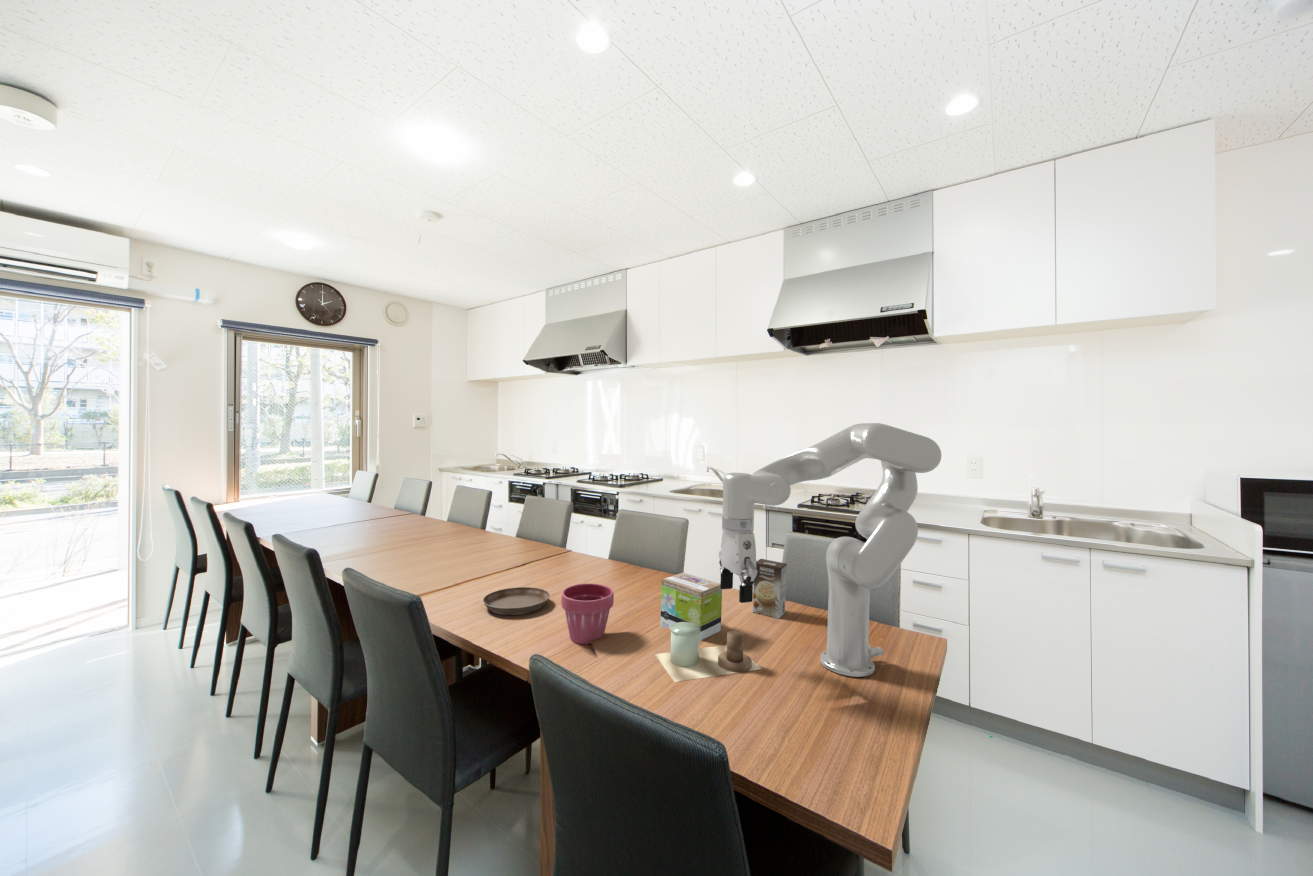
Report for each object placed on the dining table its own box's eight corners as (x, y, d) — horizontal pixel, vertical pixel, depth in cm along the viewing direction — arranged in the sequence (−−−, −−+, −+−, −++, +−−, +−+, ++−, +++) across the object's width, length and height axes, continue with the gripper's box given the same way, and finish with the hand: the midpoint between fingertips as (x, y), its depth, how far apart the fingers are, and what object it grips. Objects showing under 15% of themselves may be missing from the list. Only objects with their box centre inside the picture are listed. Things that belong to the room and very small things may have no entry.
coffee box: (751, 612, 154) (752, 562, 154) (758, 606, 159) (759, 558, 159) (779, 619, 149) (781, 567, 149) (786, 612, 154) (787, 562, 154)
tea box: (659, 629, 139) (660, 578, 139) (681, 619, 147) (682, 571, 147) (700, 645, 129) (701, 590, 129) (722, 634, 137) (723, 582, 136)
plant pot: (603, 652, 124) (604, 602, 124) (552, 645, 127) (553, 597, 127) (618, 630, 138) (619, 585, 138) (572, 624, 141) (573, 581, 141)
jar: (692, 652, 123) (693, 620, 122) (704, 665, 116) (705, 632, 116) (665, 655, 120) (666, 623, 120) (676, 669, 113) (676, 635, 113)
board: (733, 648, 128) (733, 643, 128) (761, 673, 115) (761, 668, 115) (654, 659, 121) (654, 654, 121) (674, 687, 108) (674, 682, 108)
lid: (741, 654, 122) (742, 626, 122) (757, 669, 114) (758, 639, 114) (712, 658, 119) (713, 629, 119) (727, 674, 112) (728, 643, 112)
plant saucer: (479, 600, 160) (479, 590, 160) (542, 592, 169) (542, 583, 169) (486, 623, 141) (486, 611, 141) (556, 613, 150) (556, 602, 150)
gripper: (770, 531, 109) (768, 606, 110) (734, 517, 126) (732, 583, 126) (741, 532, 107) (739, 609, 107) (708, 518, 123) (706, 585, 124)
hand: (735, 595), depth 117 cm, fingers open, 9 cm apart
